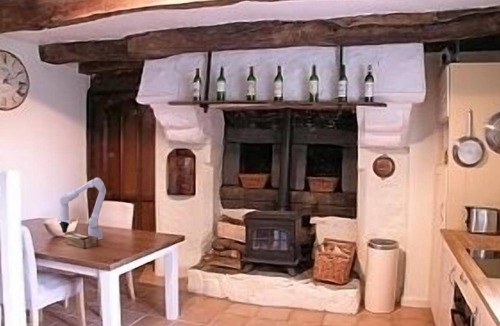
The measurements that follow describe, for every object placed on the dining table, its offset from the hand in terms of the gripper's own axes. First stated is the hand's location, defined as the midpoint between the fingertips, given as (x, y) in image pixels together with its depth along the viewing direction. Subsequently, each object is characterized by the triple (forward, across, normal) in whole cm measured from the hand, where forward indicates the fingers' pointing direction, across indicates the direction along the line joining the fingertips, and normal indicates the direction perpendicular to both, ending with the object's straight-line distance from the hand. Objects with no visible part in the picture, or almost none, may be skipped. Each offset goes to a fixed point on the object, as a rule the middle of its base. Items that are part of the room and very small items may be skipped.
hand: (64, 232), depth 332 cm
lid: (+1, +12, 0) cm, 12 cm away
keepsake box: (+6, +21, 0) cm, 21 cm away
